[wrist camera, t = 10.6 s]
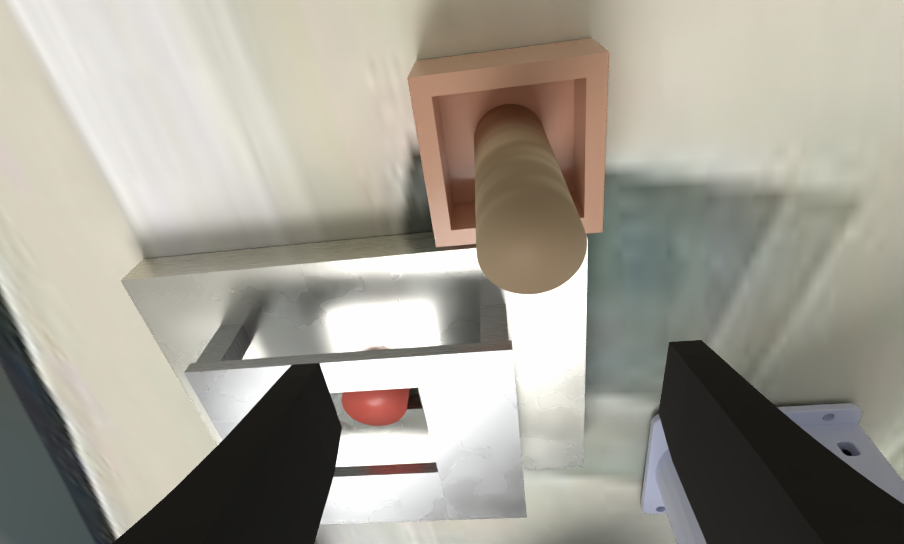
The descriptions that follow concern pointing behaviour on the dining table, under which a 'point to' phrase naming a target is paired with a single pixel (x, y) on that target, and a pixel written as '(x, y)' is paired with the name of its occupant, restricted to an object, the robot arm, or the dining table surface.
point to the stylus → (523, 205)
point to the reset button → (376, 405)
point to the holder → (510, 82)
